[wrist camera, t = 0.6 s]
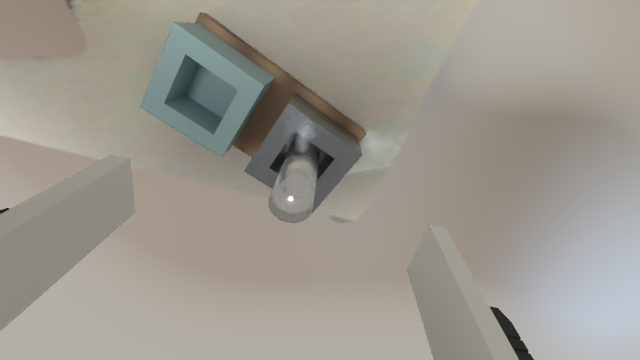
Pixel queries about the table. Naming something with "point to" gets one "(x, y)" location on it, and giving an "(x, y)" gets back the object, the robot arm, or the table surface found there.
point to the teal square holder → (205, 87)
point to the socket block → (318, 129)
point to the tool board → (272, 94)
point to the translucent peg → (296, 182)
